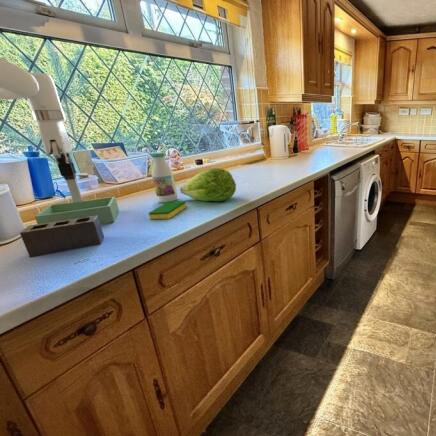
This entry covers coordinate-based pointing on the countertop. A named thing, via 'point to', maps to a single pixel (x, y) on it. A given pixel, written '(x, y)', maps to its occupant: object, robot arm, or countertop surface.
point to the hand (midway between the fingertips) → (68, 174)
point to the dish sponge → (167, 210)
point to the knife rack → (62, 235)
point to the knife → (73, 186)
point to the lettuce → (210, 185)
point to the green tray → (80, 211)
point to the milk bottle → (163, 179)
